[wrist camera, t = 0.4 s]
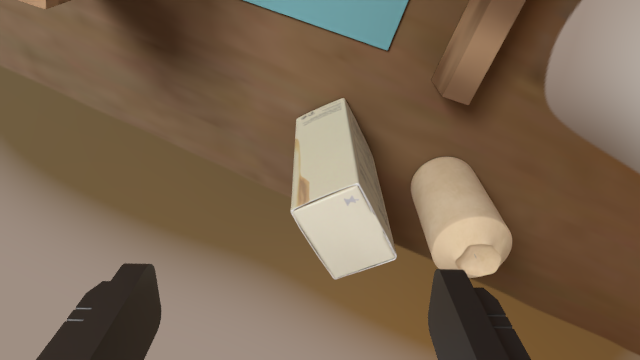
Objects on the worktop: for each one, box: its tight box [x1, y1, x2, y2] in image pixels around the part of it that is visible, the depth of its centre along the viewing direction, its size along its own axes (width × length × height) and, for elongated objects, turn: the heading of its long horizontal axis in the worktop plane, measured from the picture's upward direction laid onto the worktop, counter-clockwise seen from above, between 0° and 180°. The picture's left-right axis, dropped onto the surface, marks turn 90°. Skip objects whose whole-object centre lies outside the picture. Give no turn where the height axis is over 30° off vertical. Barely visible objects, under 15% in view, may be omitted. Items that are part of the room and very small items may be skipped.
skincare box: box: [291, 98, 397, 279], centre depth 30 cm, size 6×4×12 cm
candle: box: [411, 157, 512, 278], centre depth 33 cm, size 6×6×10 cm
